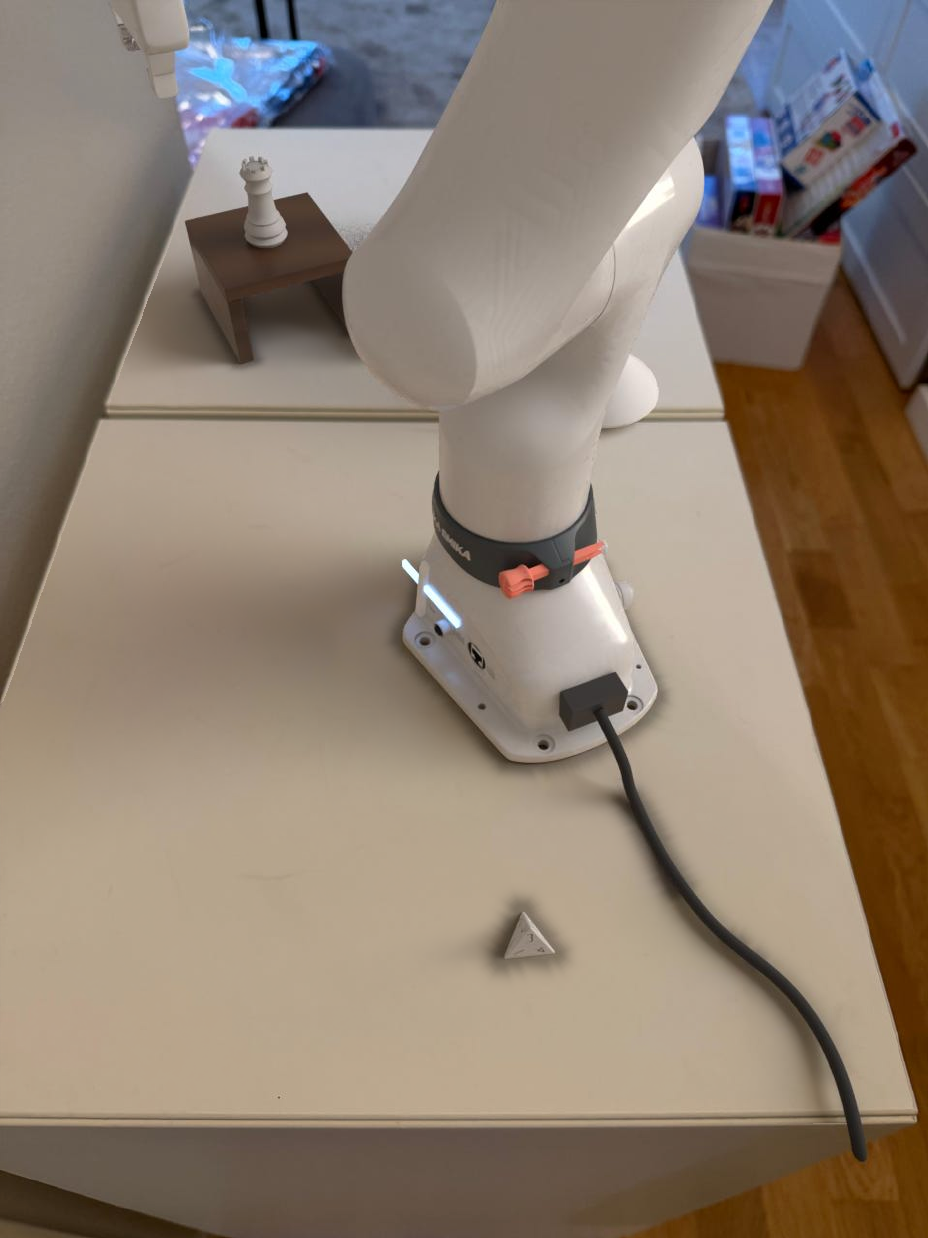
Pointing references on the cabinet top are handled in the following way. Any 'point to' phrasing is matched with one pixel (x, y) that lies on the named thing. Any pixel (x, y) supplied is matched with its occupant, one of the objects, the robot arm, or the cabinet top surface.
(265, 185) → the rook chess piece
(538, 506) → the robot arm
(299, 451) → the cabinet top surface
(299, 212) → the shelf
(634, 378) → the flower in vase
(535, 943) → the tetrahedral die
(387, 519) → the cabinet top surface
